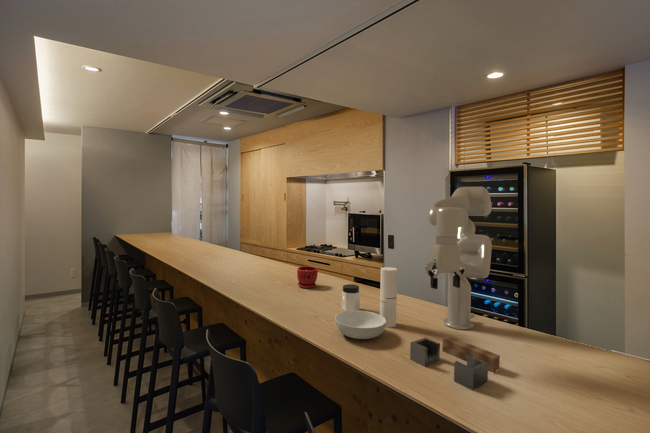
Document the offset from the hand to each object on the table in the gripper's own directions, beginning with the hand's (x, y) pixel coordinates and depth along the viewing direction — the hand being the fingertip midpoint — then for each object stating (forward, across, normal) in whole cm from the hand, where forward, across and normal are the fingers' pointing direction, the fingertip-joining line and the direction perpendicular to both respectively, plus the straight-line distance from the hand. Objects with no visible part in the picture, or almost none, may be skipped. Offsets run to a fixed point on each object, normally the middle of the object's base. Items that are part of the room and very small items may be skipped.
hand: (445, 287), depth 124 cm
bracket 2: (+24, +6, +20) cm, 32 cm away
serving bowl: (+24, +24, -22) cm, 40 cm away
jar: (+23, +15, -53) cm, 60 cm away
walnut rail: (+24, -4, +9) cm, 26 cm away
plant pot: (+22, +25, -104) cm, 109 cm away
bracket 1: (+24, +11, +5) cm, 26 cm away
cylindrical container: (+23, +7, -30) cm, 38 cm away
